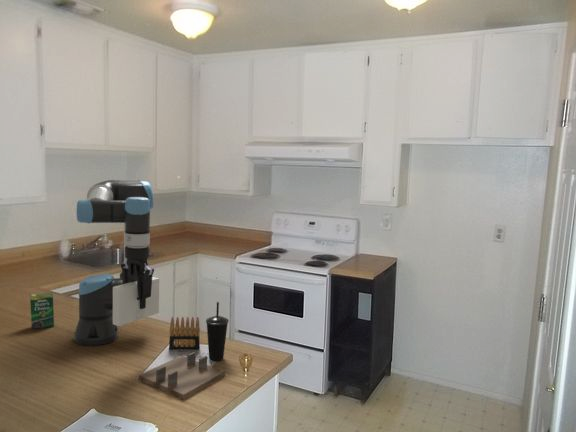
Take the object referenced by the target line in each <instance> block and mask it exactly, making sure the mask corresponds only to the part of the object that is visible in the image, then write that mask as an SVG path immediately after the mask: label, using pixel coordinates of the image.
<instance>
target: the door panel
mask: <svg viewBox="0 0 576 432" xmlns="http://www.w3.org/2000/svg"><path fill="white" fill-rule="evenodd" d="M137 298H138V288H137V281H135V282H131V283H127V284H123V285H119V286H115V287H113V324H114V325H117V327H122V326H124V325H127V324H130V323H134V322H136V321H139V320H142V319H145V318H148V317H151V316H154V315H157V314H159V312H160V278H159V277H155V276H153V277H152V287H151V297H148V298H146V307H145V317H143V318H140V319H136V308H137Z"/></svg>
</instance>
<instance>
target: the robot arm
mask: <svg viewBox="0 0 576 432" xmlns="http://www.w3.org/2000/svg"><path fill="white" fill-rule="evenodd" d="M86 193H87V194H86V199H80V200H78V201H77V202H76V220H77V222H78V223H80V224H81V223H83V224H84V223H85V224H103V223H104V224H107V223H109V224H110V223H111V224H123V262H121V263H120V268H121V272H120V273H119V278H118V277H117V278H115V277H114V275H113V274H111V273H99V274H94V275H93V274H92V275H90V276H87V277H84V278H83V279H81V281H80V282H79V283H78V285H79V286H78V288H79V289H78V293H77V294H78V295H79V296H78V315H79V316H78V317H79V318H78V321H77V324H76V328H75V331H74V333H73V341H74V343H76V344H77V345H81V346H91V347H93V346H100V345H101V346H102V345H105V344H110V343H111V342H114V341H116V340H117V339H118V337H119V329H118V326H117V325H114V324H113V287H115V286H119V285H123V284H127V283H131V282H135V281H137V288H138V298H137V308H136V319H139V320H141V319H140V318H142V319H144V318H143V317H145V307H146V298H148V297H151V287H152V277H154V276H153V275H154V273H155V269H154V267H152V268H150V267H149V262H148V259H149V257H150V251H151V250H150V249H151V248H150V244H151V240H150V239H151V238H150V237H151V234H150V233H151V232H150V231H151V230H150V228H151V227H150V226H151V225H150V224H151V221H150V220H151V210H152V209H154V194H153V189H152V185H151V183H150V182H149V181H146V180H139V179H138V180H120V179H117V180H115V179H110V180H109V179H108V180H104V181H101V182H98V183H95V184H94V185H92V186H91V187H90V188H89V190H88V192H86ZM145 318H146V317H145Z"/></svg>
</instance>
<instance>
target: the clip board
mask: <svg viewBox="0 0 576 432" xmlns="http://www.w3.org/2000/svg"><path fill="white" fill-rule="evenodd" d="M196 354H197V353H196V352H195V351H192V352H189V353H188V354H187V355H186V356H184V355H179V356H177V357H175V358H173V359H171V360H169V361H166V362H164V363H162V364H160V365H158V366H156V367H154V368H151V369H149V370H147V371H144V372H143V373H141V374H139V375H138V381H140V382H143V383H145V384H147V385H149V386H152V387H153V388H157V389H158V390H161V391H163V392H165V393H167V394H170V395H173V396H175V397H176V398H179V399H182V400H185V399H187V398H189V397H190V396H193V395H194V394H195V393H198V392H199V391H201V390H202V389H203V390H204V388H206V387H208V386H209V385H211V384H213V383H215V382H216V381H218V380H219V379H222V378H223V377H225V375H226V372H225V370H222V369H219V368H217V367H214V366H211V365H208V356H207V355H204V356H202V357H200V358H198V361H197V359H196V357H197V355H196Z"/></svg>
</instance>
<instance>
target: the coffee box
mask: <svg viewBox="0 0 576 432" xmlns="http://www.w3.org/2000/svg"><path fill="white" fill-rule="evenodd" d="M29 300H30V301H29V304H30V322H31V330H33V329H41V328H42V329H43V328H50V327H55V312H54V309H55V308H54V292H46V293H36V294H35V293H33V294H30V295H29Z"/></svg>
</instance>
